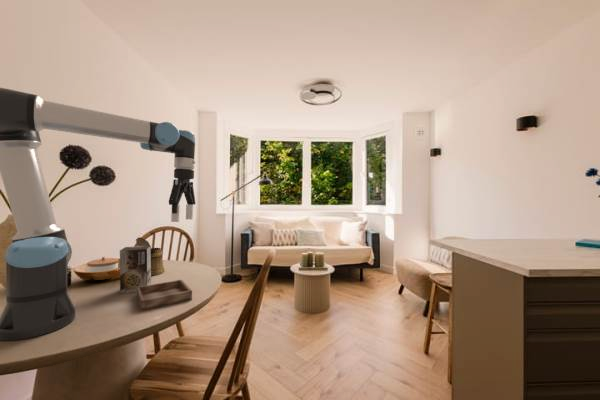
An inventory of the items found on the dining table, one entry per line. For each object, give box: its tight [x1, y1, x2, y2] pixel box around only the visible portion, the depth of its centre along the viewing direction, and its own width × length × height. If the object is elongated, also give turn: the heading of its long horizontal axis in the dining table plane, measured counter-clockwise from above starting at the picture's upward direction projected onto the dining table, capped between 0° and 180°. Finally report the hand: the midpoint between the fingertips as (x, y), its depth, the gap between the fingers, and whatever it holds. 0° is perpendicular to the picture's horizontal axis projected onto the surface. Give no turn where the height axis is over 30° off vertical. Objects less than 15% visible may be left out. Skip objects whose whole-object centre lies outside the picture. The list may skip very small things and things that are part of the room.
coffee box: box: [119, 245, 152, 294], centre depth 98 cm, size 9×6×16 cm
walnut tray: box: [136, 279, 193, 311], centre depth 90 cm, size 15×15×3 cm
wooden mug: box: [135, 237, 166, 276], centre depth 117 cm, size 9×14×18 cm, turn 169°
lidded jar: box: [86, 256, 120, 273], centre depth 110 cm, size 11×11×9 cm
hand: (182, 220), depth 106 cm, fingers open, 13 cm apart
